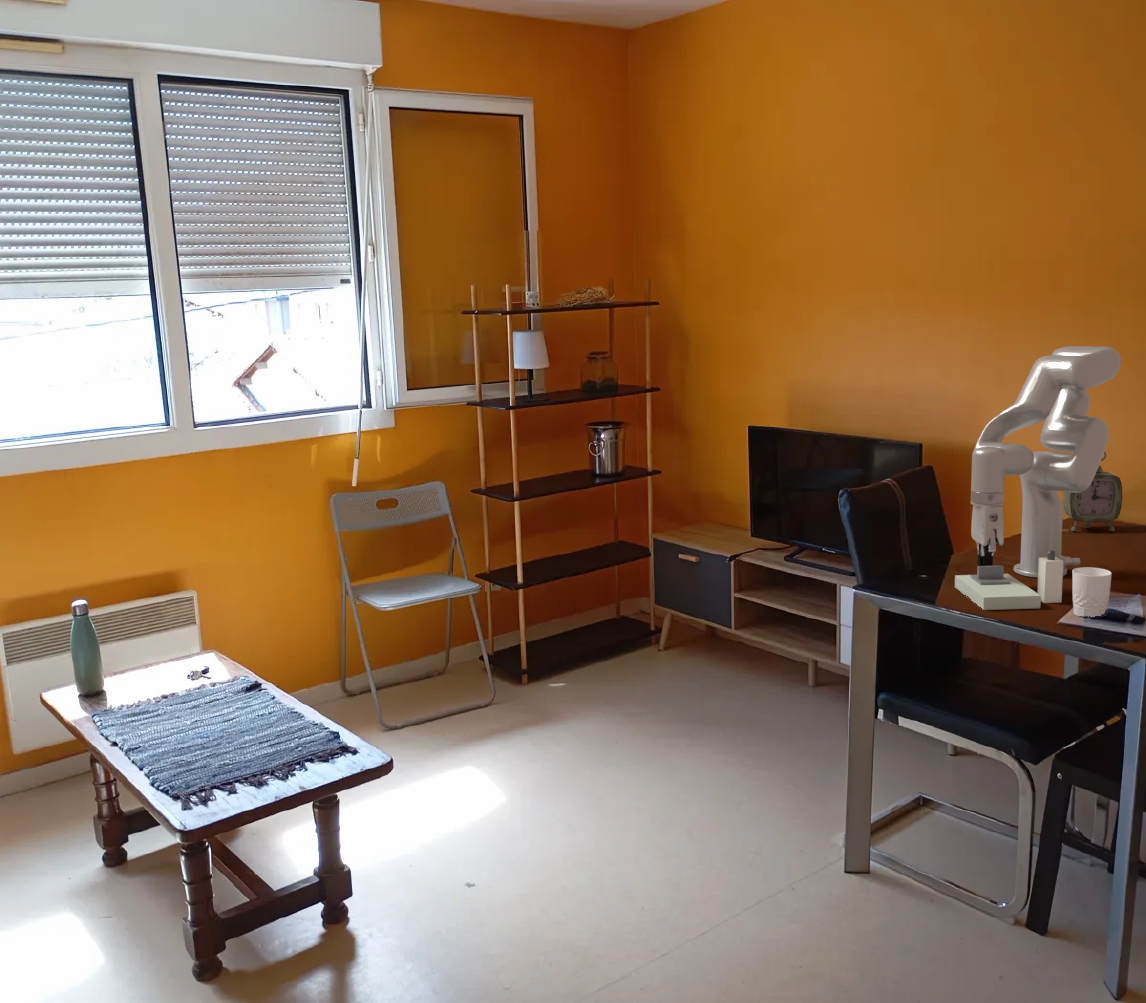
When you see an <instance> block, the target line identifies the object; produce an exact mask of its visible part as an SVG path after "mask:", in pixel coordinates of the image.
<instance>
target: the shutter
mask: <svg viewBox="0 0 1146 1003" xmlns="http://www.w3.org/2000/svg"><path fill="white" fill-rule="evenodd" d="M1004 569H1005V567H1004V565H1002V564H1001V565H993V566H977V565H976V570H977V571H976V572H977V573H976V574H970V575H971V578H972V579H973V580H975V581H976V582H978V583H979V584H980V585H992V584H1010V581H1009V580H1007V579H1006V578H1004V574H1005V573H1004V572H1005V571H1004Z"/></svg>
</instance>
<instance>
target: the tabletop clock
mask: <svg viewBox="0 0 1146 1003" xmlns="http://www.w3.org/2000/svg"><path fill="white" fill-rule="evenodd" d="M1106 458H1107V453H1106V451H1105V452H1104V454H1103V457H1102V459H1101V462H1103V461H1104V460H1105V459H1106ZM1122 484H1123V483H1122V481H1121V478H1120V477H1119V476H1118V475H1115V474H1112V473H1111V472H1108V471H1104V470H1103V467H1102V465H1101V464H1099V467H1098V469H1097V471H1096V474H1095V476H1094V479H1093V481H1092V483H1091V484H1090V486H1089V487H1088V488H1087V489H1086V490H1085V491H1083V492H1080V493H1072V492H1064V491H1062V492H1063V493H1062V504H1063V511H1064V512H1065V514H1066V516H1068V517H1069V518H1071V519H1073V520H1075V521H1074V524H1073V526H1071V528H1070V531H1071V532H1072V531H1075V532H1076V531H1077V529H1078V528H1077V525H1078V524H1079V522H1082V523H1083V522H1085V523H1086V524H1084V529H1086V528H1089V529H1090V528H1091V527H1092V526H1091V524H1090V523H1104V522H1105V523H1106V524H1107V526H1108V531H1109V532H1110V531H1113V532H1114V531H1115V530H1116V528H1115V527H1114V526H1112V525H1111V523H1110V522H1112V521H1115V520H1116V519H1118V518H1119V516H1120V513H1121V509H1122V505H1123V504H1122V503H1123V486H1122Z"/></svg>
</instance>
